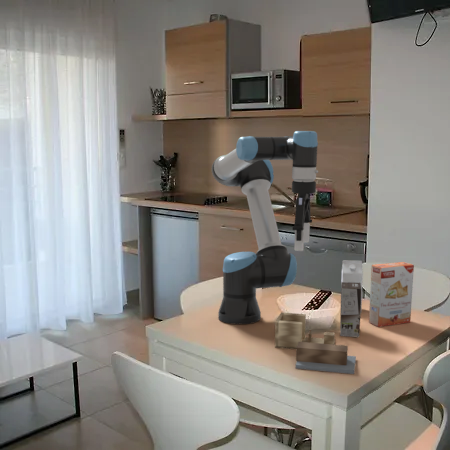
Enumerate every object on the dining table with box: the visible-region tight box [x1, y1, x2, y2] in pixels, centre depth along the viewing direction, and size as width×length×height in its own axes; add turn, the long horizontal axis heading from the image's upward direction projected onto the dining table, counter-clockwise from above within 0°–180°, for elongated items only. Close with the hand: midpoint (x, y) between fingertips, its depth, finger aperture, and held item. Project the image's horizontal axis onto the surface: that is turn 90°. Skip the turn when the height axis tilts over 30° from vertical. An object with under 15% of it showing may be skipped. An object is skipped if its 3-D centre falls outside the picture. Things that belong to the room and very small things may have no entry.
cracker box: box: [368, 261, 415, 328], centre depth 204 cm, size 14×6×21 cm, turn 114°
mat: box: [295, 355, 357, 375], centre depth 168 cm, size 16×11×1 cm
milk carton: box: [340, 259, 364, 310], centre depth 219 cm, size 7×7×19 cm
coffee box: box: [339, 282, 362, 338], centre depth 194 cm, size 9×6×16 cm
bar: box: [295, 342, 349, 366], centre depth 168 cm, size 14×5×4 cm, turn 76°
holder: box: [274, 311, 336, 350], centre depth 184 cm, size 18×11×8 cm, turn 75°
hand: (302, 246), depth 190 cm, fingers open, 13 cm apart
